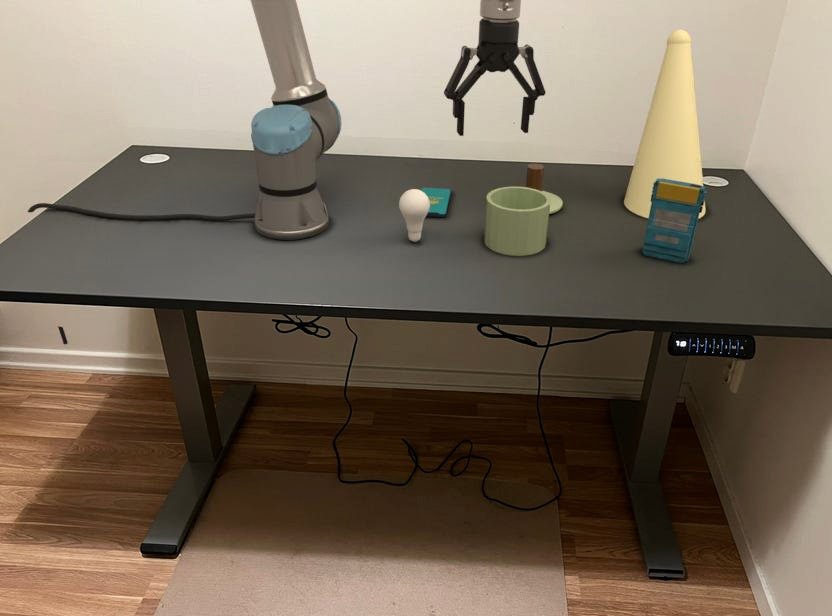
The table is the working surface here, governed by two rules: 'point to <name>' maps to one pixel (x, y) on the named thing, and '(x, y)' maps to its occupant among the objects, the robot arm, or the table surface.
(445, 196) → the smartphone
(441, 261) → the table surface
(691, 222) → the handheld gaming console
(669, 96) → the cone light
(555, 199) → the canister lid
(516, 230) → the canister
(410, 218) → the lightbulb
